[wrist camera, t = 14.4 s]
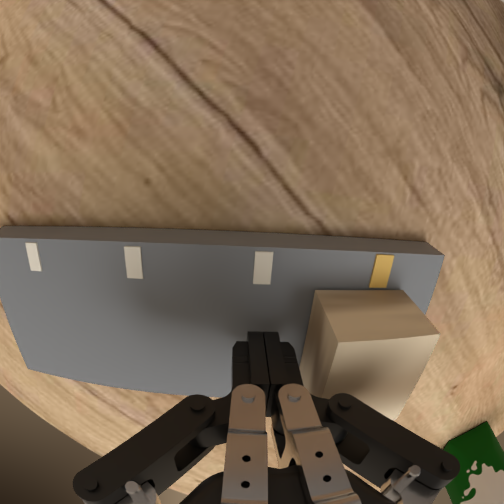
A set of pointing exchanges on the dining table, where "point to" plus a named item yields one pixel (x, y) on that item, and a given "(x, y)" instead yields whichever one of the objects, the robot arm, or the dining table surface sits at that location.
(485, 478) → the soya milk
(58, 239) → the board
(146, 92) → the dining table surface
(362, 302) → the knob
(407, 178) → the dining table surface
